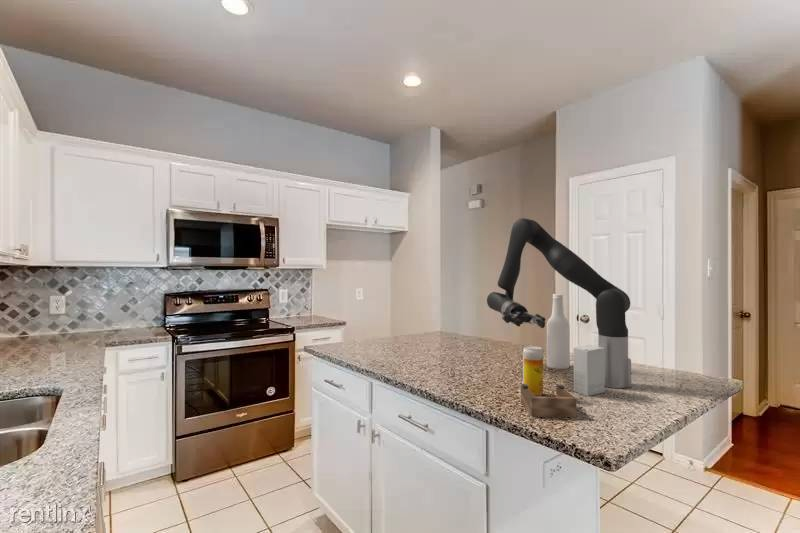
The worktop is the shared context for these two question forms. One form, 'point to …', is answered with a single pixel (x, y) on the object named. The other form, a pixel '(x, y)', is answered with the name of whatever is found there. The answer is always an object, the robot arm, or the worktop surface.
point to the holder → (549, 403)
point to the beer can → (533, 369)
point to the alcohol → (558, 336)
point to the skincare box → (589, 370)
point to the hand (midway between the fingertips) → (531, 324)
